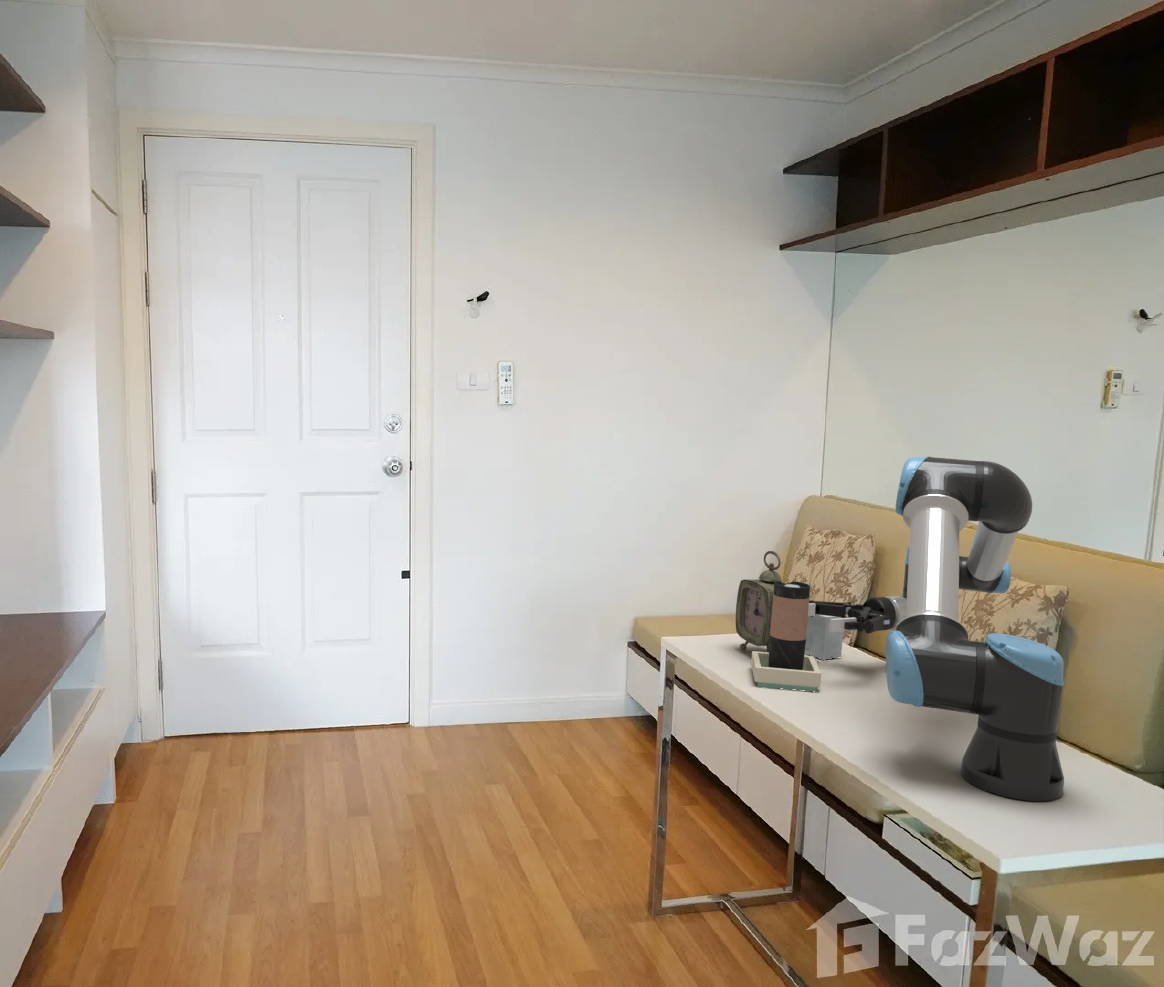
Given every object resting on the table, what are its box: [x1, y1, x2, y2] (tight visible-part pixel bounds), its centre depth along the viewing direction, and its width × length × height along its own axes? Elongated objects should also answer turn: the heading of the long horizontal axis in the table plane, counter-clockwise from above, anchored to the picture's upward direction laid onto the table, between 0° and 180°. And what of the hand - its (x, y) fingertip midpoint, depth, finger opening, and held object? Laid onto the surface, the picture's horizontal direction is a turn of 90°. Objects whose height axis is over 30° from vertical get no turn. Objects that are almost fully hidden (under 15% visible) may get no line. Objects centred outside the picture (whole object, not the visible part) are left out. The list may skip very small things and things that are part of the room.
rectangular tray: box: [750, 650, 822, 693], centre depth 204 cm, size 18×13×4 cm
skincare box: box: [804, 614, 844, 661], centre depth 226 cm, size 10×6×10 cm, turn 29°
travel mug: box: [768, 580, 811, 670], centre depth 202 cm, size 8×8×20 cm
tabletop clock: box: [735, 550, 784, 652], centre depth 220 cm, size 14×9×25 cm, turn 20°
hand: (809, 618), depth 204 cm, fingers open, 13 cm apart
